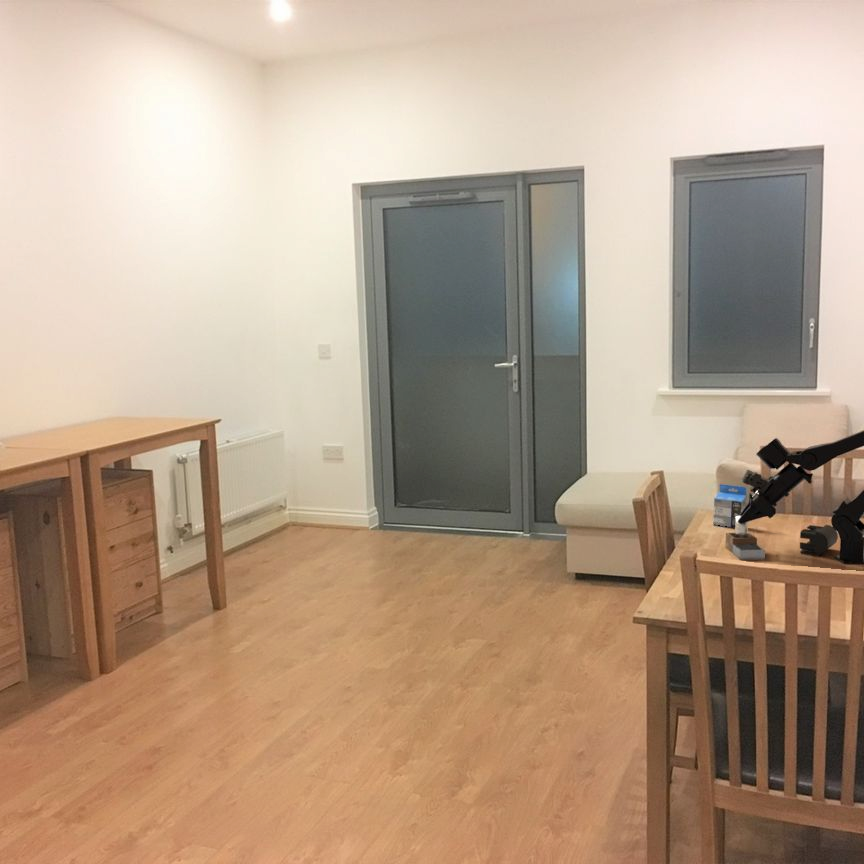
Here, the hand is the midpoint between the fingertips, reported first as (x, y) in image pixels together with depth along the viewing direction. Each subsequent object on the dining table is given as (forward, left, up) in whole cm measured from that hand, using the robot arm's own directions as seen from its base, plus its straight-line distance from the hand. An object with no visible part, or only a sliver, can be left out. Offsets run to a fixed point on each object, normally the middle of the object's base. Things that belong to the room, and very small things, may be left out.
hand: (738, 521), depth 248 cm
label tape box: (+28, -6, -8) cm, 29 cm away
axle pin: (0, -1, -7) cm, 7 cm away
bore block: (0, -1, -8) cm, 8 cm away
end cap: (-2, -21, -8) cm, 22 cm away
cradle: (-7, -1, -8) cm, 11 cm away
